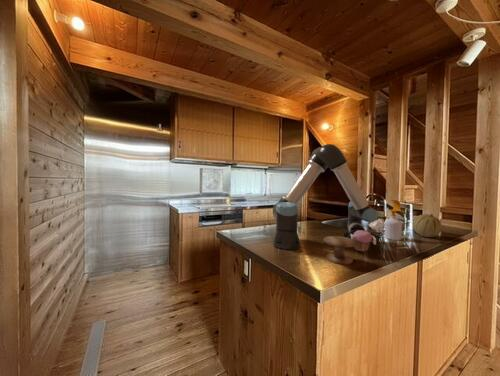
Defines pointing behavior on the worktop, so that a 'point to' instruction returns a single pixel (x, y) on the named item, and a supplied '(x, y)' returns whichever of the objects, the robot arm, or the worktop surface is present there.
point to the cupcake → (362, 240)
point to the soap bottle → (393, 224)
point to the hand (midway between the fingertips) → (363, 240)
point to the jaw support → (377, 227)
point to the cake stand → (339, 249)
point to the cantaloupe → (427, 225)
